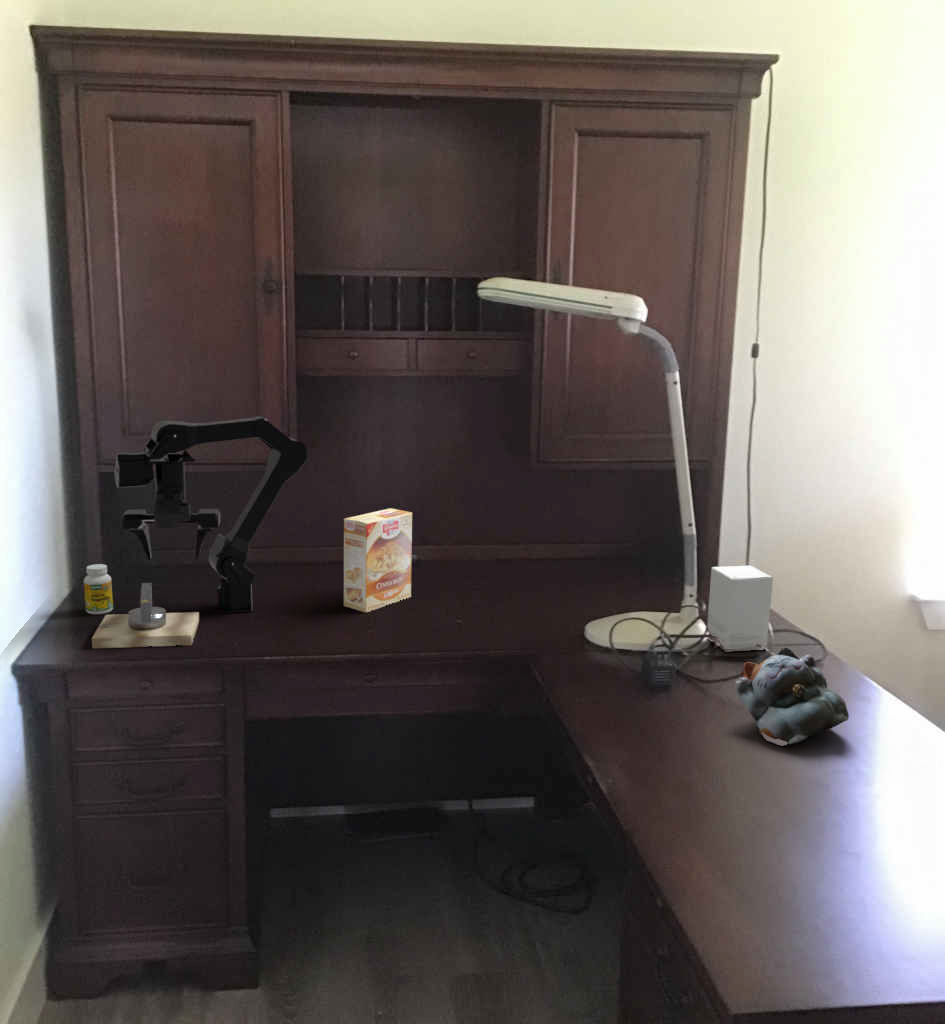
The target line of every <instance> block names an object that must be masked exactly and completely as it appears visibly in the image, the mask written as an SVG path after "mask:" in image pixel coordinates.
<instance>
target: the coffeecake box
mask: <svg viewBox="0 0 945 1024" xmlns="http://www.w3.org/2000/svg"><path fill="white" fill-rule="evenodd" d="M412 543H413V512H411V511H407V510H401V509H397V508H393V507H392V508H391V507H390V508H385V509H381V510H377V511H372V512H368V513H364V514H360V515H355V516H354V515H353V516H349V517H346V518H343V607H346V608H350V609H353V610H357V611H358V612H362V613H366V612H367V613H369V612H372V610H373V611H376V610H378V609H381V608H383V607H386V605H387V606H389V604H390V605H392V603H393V604H395V603H399V602H401V601H403V599H404V600H406V598H407V599H410V598H412V553H413V552H412V550H413V549H412ZM409 597H410V598H409ZM400 600H401V601H400Z"/></svg>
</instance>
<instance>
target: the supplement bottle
mask: <svg viewBox="0 0 945 1024" xmlns="http://www.w3.org/2000/svg"><path fill="white" fill-rule="evenodd" d="M85 568H86V570H85V571H86V576H85V577H84V579H83V587H84V601H85V611H86V613H88V614H91V615H104V614H105V615H106V614H108V613H110V612H112V611H113V610H114V600H113V588H112V587H113V584H112V583H113V582H112V577H111V576H110V575H109V574H108V566H107V565H106V564H104V563H99V564H98V563H96V564H89V565H88V566H86V567H85Z"/></svg>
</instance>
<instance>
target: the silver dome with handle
mask: <svg viewBox="0 0 945 1024" xmlns="http://www.w3.org/2000/svg"><path fill="white" fill-rule="evenodd" d="M152 592H153V591H152V582H142V583H141V589H140V602H139V604H140V607H137V608H133V609H131V610H129V611H128V612H127V614H128V625H129V627H130V628H132V629H137V630H150V629H156V628H159V627H162V626H164V625H165V624H166V613H167V612H166V609H165V608H164V607H161V606H160V607H159V606H153V593H152Z"/></svg>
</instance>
